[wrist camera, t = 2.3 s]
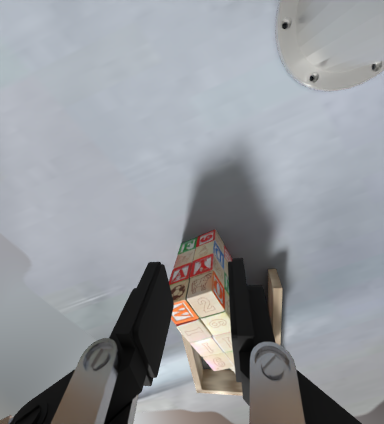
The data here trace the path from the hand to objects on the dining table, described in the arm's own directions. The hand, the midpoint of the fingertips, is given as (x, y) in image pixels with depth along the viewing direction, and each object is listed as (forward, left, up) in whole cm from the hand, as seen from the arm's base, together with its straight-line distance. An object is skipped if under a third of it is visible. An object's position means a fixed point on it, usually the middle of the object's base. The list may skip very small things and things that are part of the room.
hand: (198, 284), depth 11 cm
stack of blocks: (0, +19, -20) cm, 27 cm away
